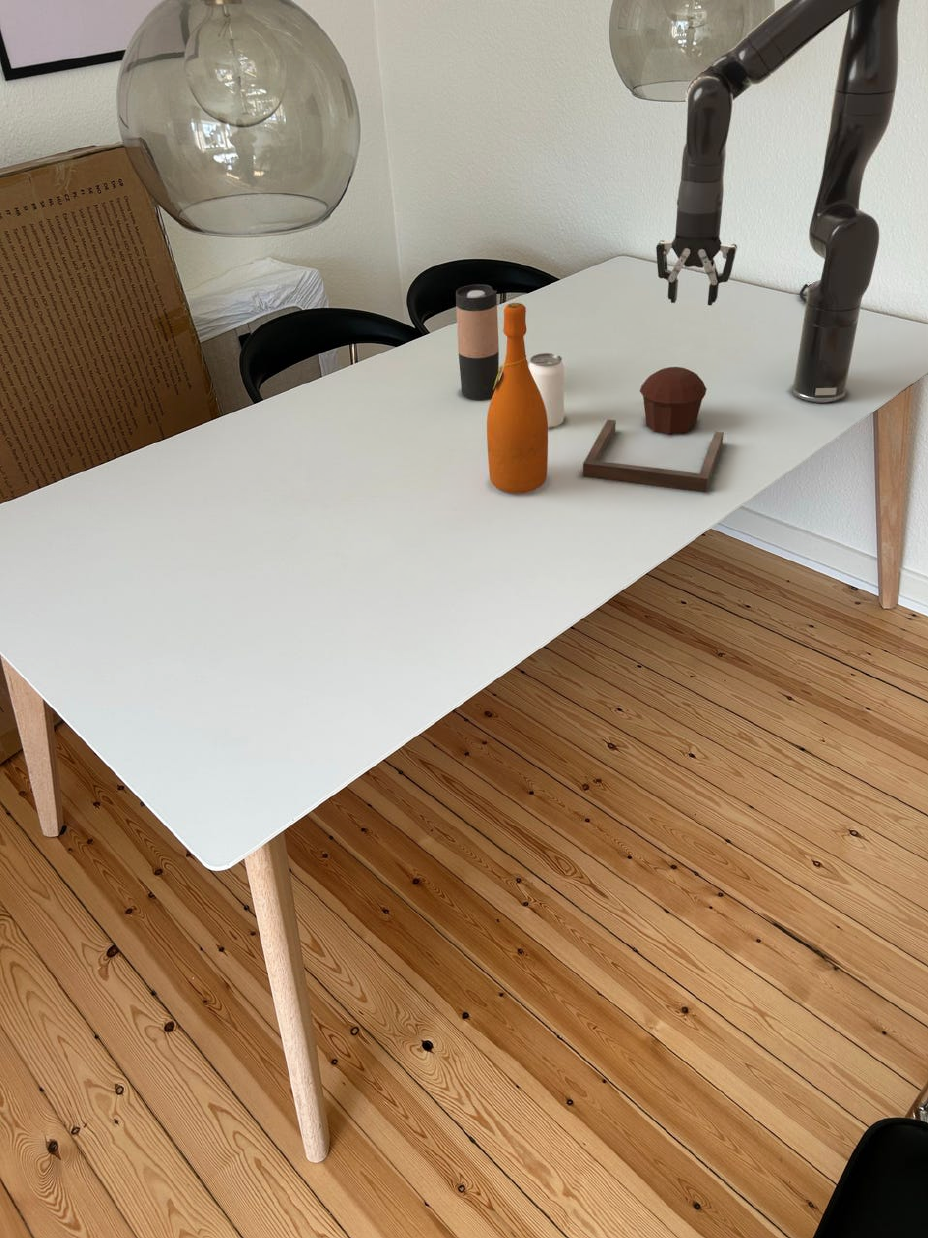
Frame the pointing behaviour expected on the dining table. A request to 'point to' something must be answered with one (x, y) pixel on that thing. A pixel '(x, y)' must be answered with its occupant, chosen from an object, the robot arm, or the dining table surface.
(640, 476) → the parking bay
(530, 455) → the wine bottle
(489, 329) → the travel mug
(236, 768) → the dining table surface
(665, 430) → the muffin
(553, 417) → the can
